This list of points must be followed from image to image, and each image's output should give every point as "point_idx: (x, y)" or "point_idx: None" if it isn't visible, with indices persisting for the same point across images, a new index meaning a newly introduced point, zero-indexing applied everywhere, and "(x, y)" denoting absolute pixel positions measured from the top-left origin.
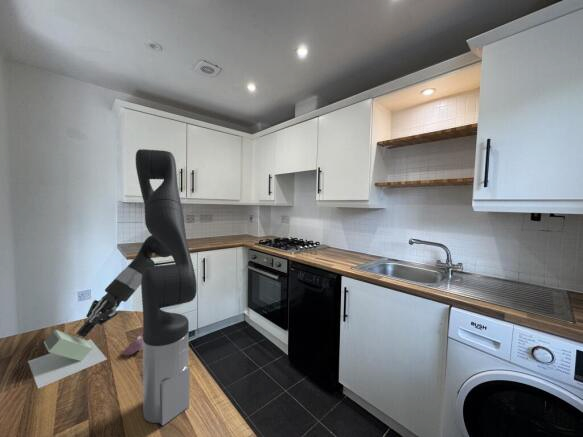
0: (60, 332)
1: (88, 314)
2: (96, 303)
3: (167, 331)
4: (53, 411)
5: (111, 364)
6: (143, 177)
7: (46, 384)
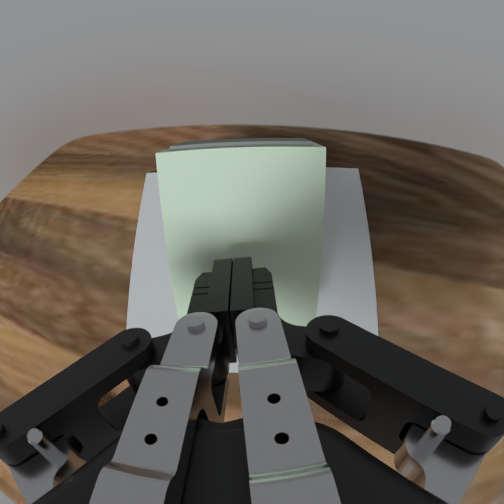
0: (294, 173)
1: (326, 332)
2: (432, 437)
3: None
4: (41, 198)
5: None
6: None
7: (145, 189)
